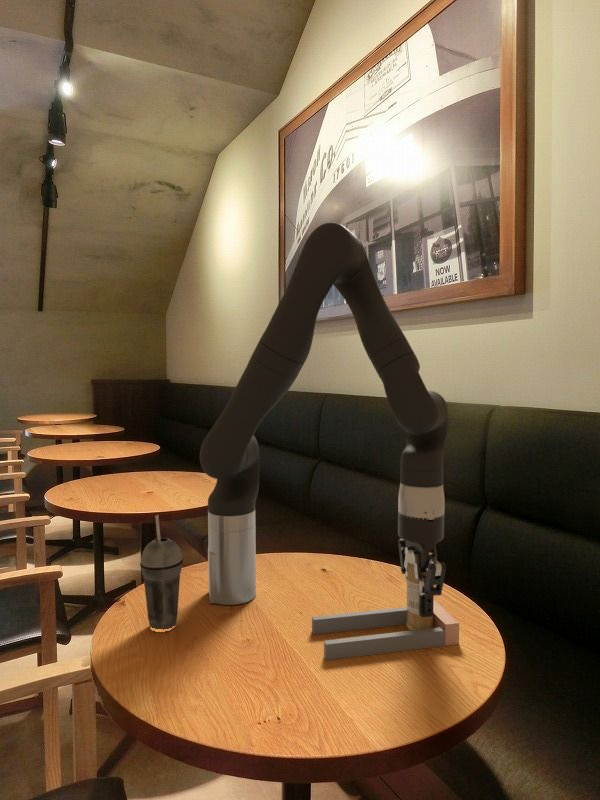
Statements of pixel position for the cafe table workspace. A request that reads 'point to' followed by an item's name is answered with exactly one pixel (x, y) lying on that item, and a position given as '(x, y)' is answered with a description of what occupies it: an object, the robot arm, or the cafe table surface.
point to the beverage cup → (161, 580)
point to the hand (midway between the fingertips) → (419, 608)
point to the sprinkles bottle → (415, 600)
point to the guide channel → (384, 643)
